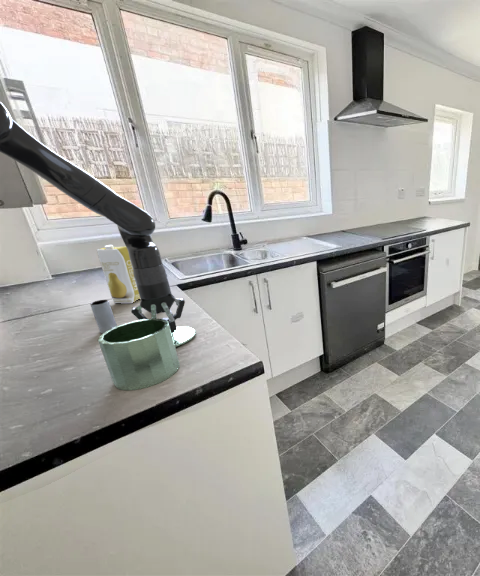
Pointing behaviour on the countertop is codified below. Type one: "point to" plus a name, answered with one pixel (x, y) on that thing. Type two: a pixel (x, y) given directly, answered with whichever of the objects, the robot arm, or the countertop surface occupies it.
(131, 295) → the juice carton
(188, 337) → the tin lid
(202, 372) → the countertop surface
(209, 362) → the countertop surface
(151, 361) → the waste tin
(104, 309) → the grey tube
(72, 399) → the countertop surface
